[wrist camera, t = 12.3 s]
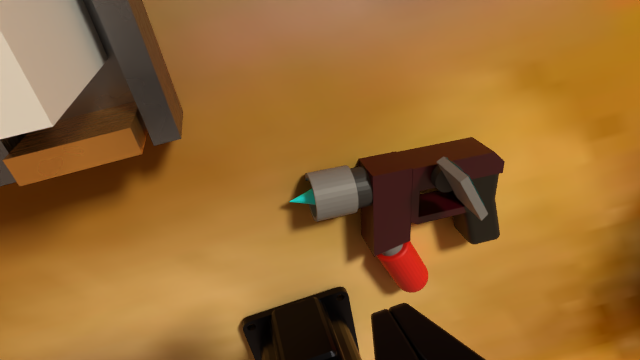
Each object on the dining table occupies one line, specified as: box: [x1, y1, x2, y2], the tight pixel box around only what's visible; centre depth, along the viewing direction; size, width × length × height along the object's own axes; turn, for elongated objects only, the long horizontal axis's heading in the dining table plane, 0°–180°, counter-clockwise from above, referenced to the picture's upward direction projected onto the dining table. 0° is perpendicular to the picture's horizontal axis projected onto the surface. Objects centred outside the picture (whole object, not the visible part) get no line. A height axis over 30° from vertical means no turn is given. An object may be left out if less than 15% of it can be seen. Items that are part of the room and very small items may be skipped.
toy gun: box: [289, 137, 504, 292], centre depth 22 cm, size 10×12×5 cm
